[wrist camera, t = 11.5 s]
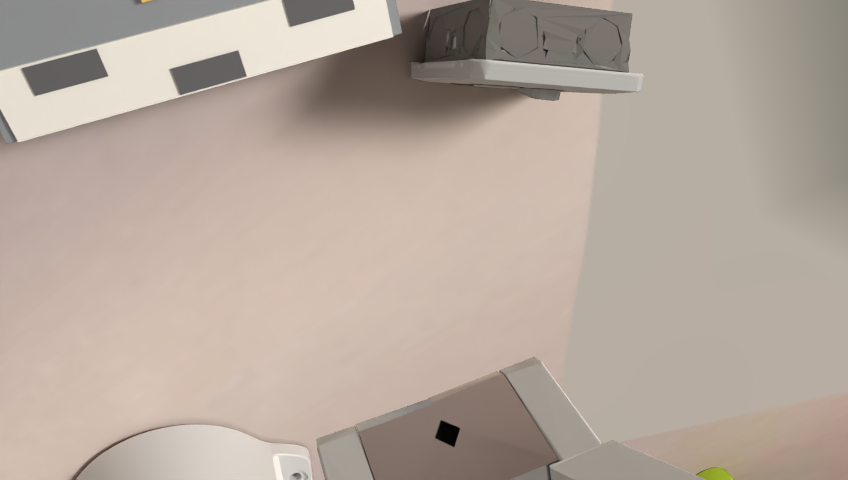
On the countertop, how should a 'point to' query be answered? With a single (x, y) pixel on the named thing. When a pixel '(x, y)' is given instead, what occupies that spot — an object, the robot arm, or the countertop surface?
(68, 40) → the switch unit
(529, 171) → the countertop surface
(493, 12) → the electrical switch
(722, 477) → the soap dispenser
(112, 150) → the countertop surface
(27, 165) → the countertop surface
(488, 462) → the robot arm
